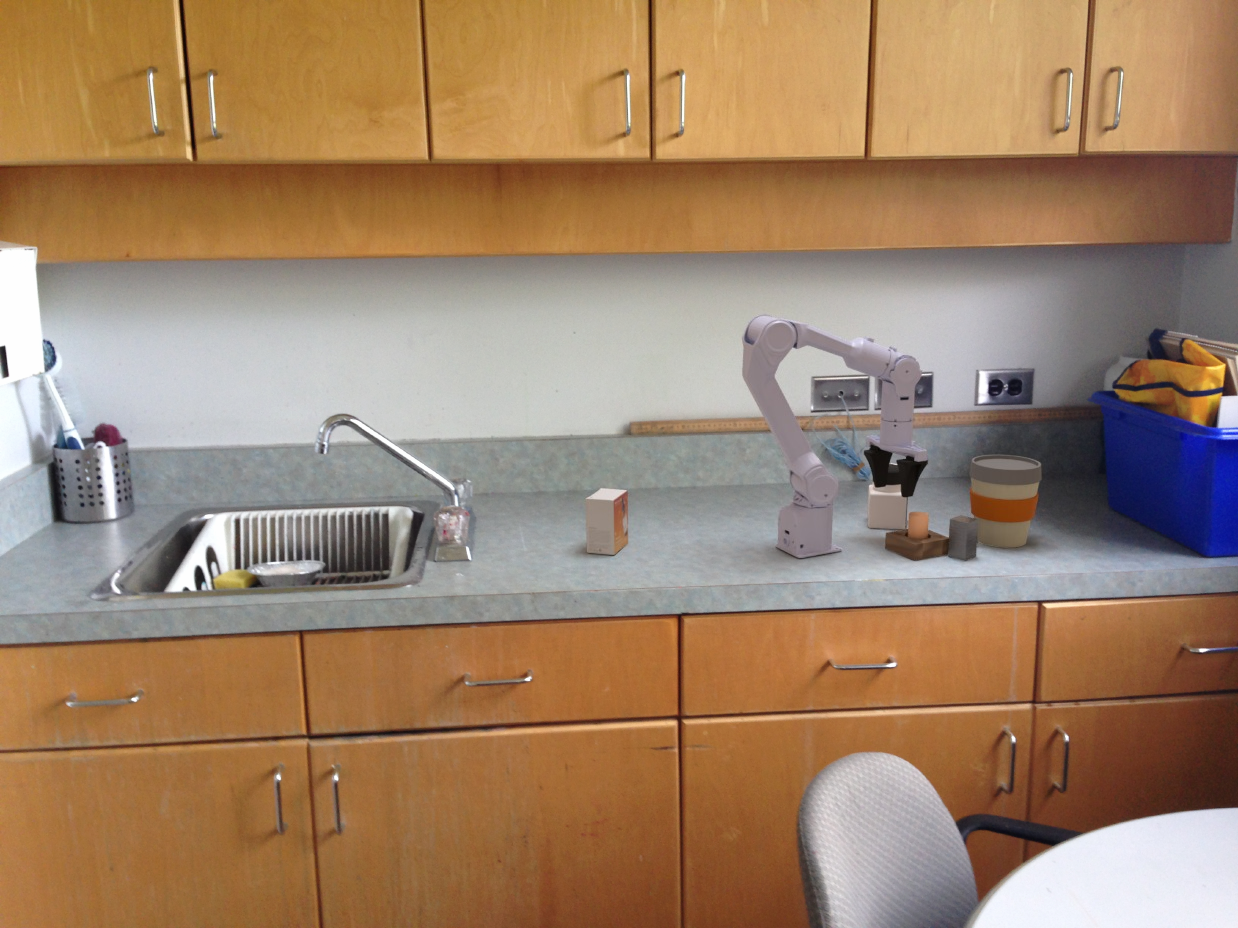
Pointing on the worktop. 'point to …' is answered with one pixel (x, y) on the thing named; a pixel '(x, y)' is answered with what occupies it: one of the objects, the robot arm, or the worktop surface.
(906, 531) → the bore block
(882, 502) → the medicine bottle
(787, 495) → the worktop surface
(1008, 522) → the reusable coffee cup
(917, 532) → the round bit
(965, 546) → the square bit
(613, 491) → the small box
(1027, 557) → the worktop surface
